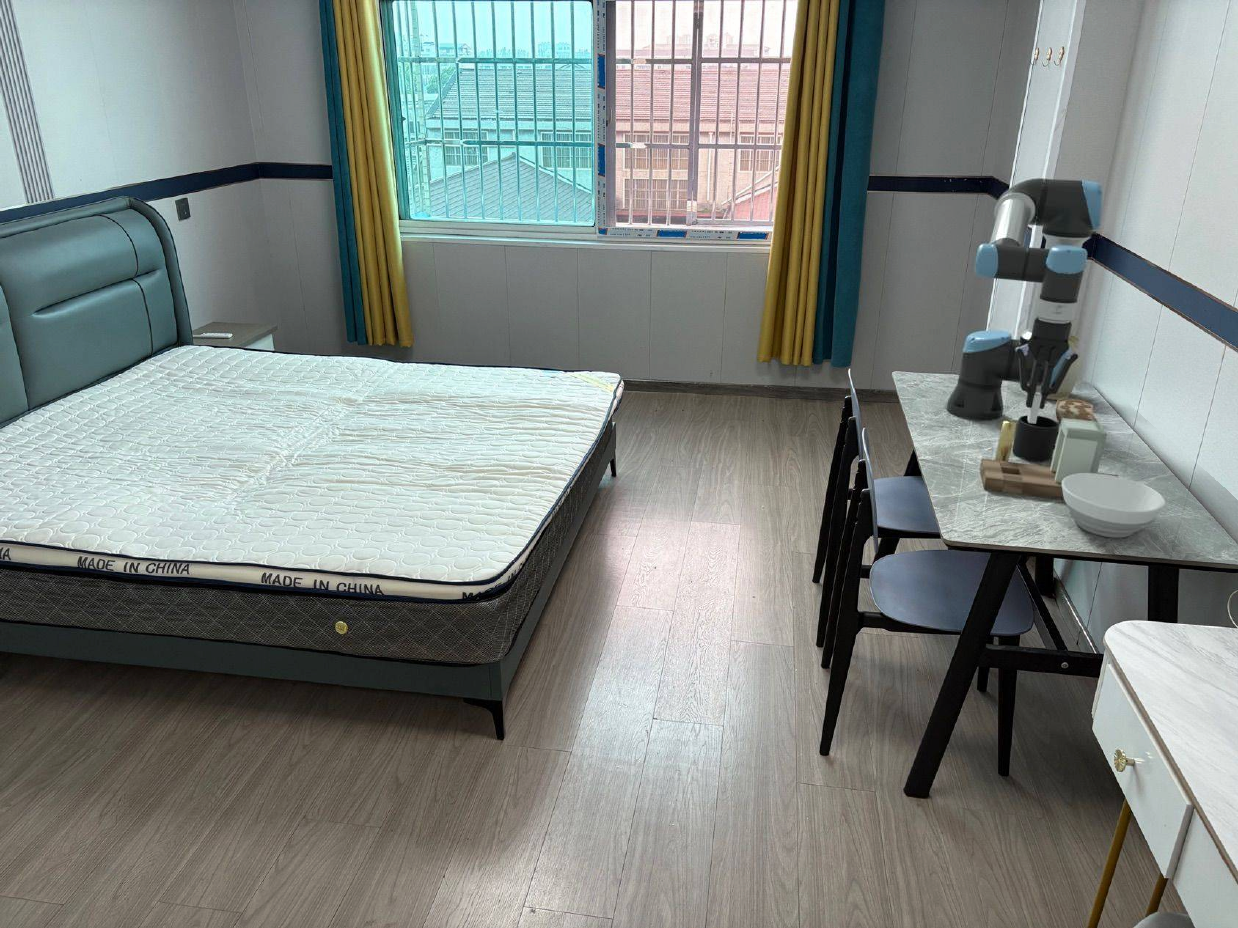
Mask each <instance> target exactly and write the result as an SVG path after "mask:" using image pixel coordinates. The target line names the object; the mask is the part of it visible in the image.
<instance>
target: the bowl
mask: <svg viewBox="0 0 1238 928" xmlns="http://www.w3.org/2000/svg"><path fill="white" fill-rule="evenodd" d="M1097 473H1098V472H1097ZM1097 473H1079V474H1073V475H1069V476H1067V477H1065V478H1064V479H1063V481H1062V490H1063V496H1064V503H1065V505H1066V508H1067V509H1068V510H1069V513H1070V515H1071V517H1072V519H1073V520H1074V522H1075V525H1077V526H1078V527H1080V528H1081V529H1082V530H1083V531H1086V532H1088V533H1090V534H1094V535H1097V536H1101V537H1106V538H1113V539H1115V538H1116V539H1117V538H1118V539H1119V538H1127V537H1129V536H1131V535H1132V534H1135V533H1136V532H1138V531H1140V530H1141V529H1142V528H1143V527H1145V526H1146V525H1148V524H1149V523H1150V522H1152V520H1154V519H1155V518H1156V517H1157V516H1158V514H1159V513H1160V511H1162V509H1163V508H1164V507H1165V504H1166V502H1165V497H1163V495H1161V494H1160V493H1159V492H1158V491H1157V490H1155V489H1153V488H1151V487H1150V486H1147V485H1145V484H1143V483H1141V482H1137V481H1135V480H1132V479H1129V478H1125V477H1120V476H1119V477H1117V476H1112V475H1106V474H1107V473H1105V474H1097Z"/></svg>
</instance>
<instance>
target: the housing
mask: <svg viewBox="0 0 1238 928" xmlns="http://www.w3.org/2000/svg"><path fill="white" fill-rule="evenodd" d="M1058 432H1059V433H1058V436H1057V438H1056V443H1055V450H1054V451H1053V456H1052V458H1051V464H1050V467H1051V468H1050V469H1051V471H1055V472H1056V475H1055V481H1056V482H1062V481H1063V479H1064V478H1065V477H1067V476H1069V475H1073V474H1079V473H1099V472H1098V471H1099V468H1100V464H1101V460H1102V456H1103V452H1104V448H1105V445H1106V440H1107V437H1108V432H1107V431H1106V430H1105V428H1104V426H1103V425H1102V423H1101V422H1100V421H1098V422H1095V421H1085V420H1076V419H1067V418H1062V420H1061V424H1059V430H1058Z"/></svg>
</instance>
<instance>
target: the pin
mask: <svg viewBox="0 0 1238 928" xmlns="http://www.w3.org/2000/svg"><path fill="white" fill-rule="evenodd" d="M1001 425H1002V426H1001V430H1000V434H999V439H998V444H997V449H996V453H995V454H996V455H995V459H994V460H998V461H1007V462H1010V461H1009V460H1010V456H1011V451H1012V448H1013V443H1014V439H1015V434H1016V429H1017V421H1014V420H1011V419H1003V421H1002V424H1001Z"/></svg>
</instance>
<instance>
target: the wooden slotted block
mask: <svg viewBox="0 0 1238 928" xmlns="http://www.w3.org/2000/svg"><path fill="white" fill-rule="evenodd" d="M1050 468H1051V466H1047V465H1038V464H1031V463H1024V462H1023V463H1022V462H1015V461H1013V462H1012V461H1008V462H1007V461H998V460H995V459H989V458H981V462H980V466H979V474H980V477H981V482H982V487H983V490H985V491H994V492H1001V493H1011V494H1018V495H1025V496H1031V497H1033V496H1034V497H1041V498H1046V499H1047V498H1048V499H1056V500H1064V496H1063V490H1062V482H1056V481H1055V475H1056V472H1055V471H1051V469H1050ZM1097 474H1106V475H1112V476H1117V477H1120V476H1119V475H1118V474H1111V473H1104V472H1097ZM1064 501H1065V500H1064Z"/></svg>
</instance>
